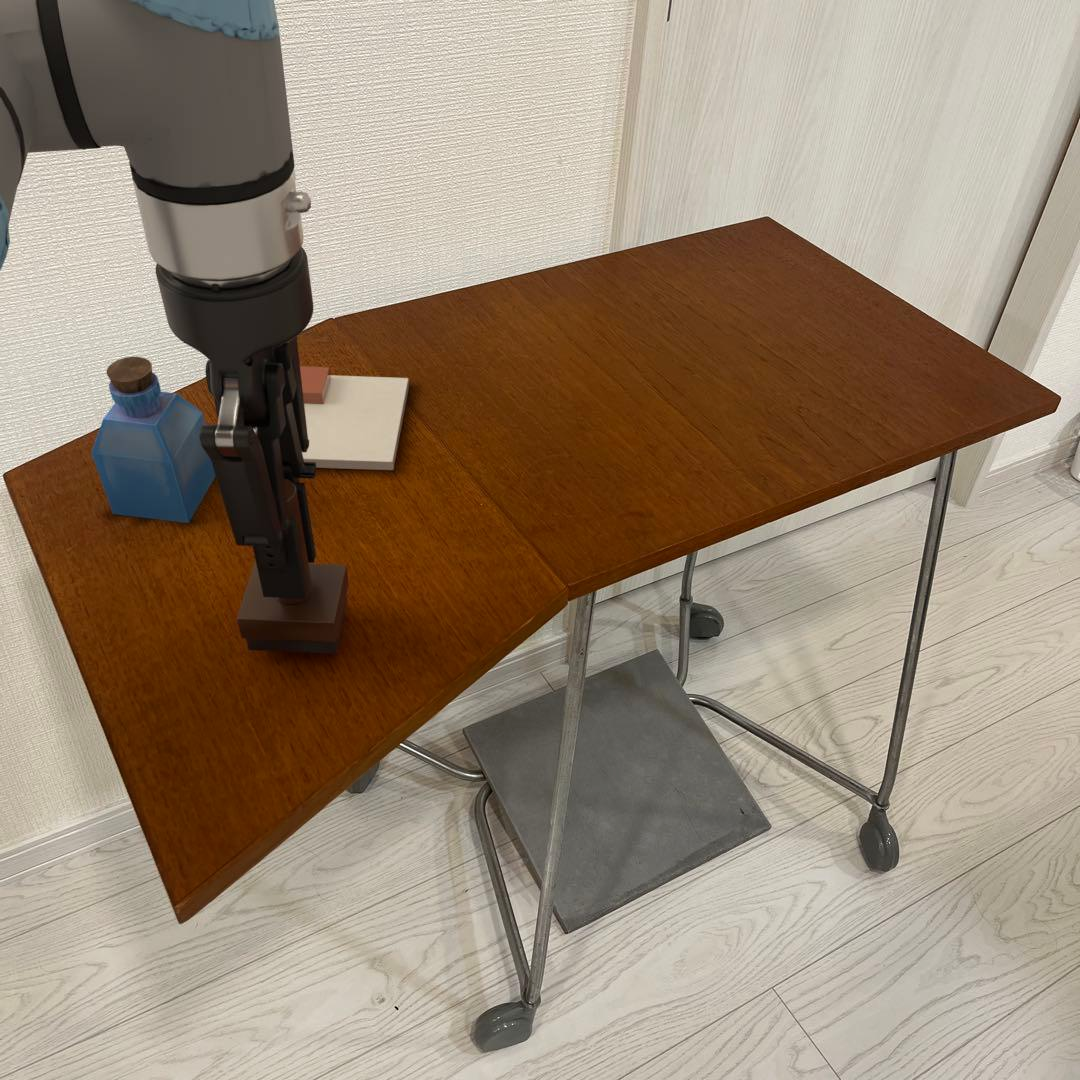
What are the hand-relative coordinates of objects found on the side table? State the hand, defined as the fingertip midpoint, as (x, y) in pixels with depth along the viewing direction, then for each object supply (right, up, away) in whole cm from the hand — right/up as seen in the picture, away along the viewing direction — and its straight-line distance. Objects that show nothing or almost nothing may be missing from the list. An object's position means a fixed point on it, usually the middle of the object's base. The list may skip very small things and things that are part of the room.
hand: (290, 575), depth 67 cm
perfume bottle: (-14, +6, +14) cm, 21 cm away
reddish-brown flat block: (-4, +16, +23) cm, 28 cm away
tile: (-1, +13, +21) cm, 25 cm away
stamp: (0, -4, +3) cm, 5 cm away
